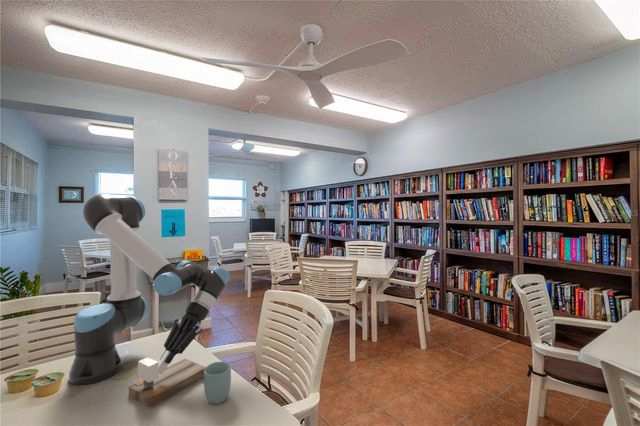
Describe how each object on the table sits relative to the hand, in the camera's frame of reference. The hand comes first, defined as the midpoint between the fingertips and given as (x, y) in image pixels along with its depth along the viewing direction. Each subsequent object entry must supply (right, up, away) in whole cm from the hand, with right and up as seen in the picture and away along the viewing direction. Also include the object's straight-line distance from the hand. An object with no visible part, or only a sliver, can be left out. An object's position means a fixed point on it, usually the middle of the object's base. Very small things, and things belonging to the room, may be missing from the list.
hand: (157, 372), depth 96 cm
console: (+2, -6, +4) cm, 8 cm away
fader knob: (-2, -3, -2) cm, 4 cm away
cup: (+21, -7, -4) cm, 22 cm away
